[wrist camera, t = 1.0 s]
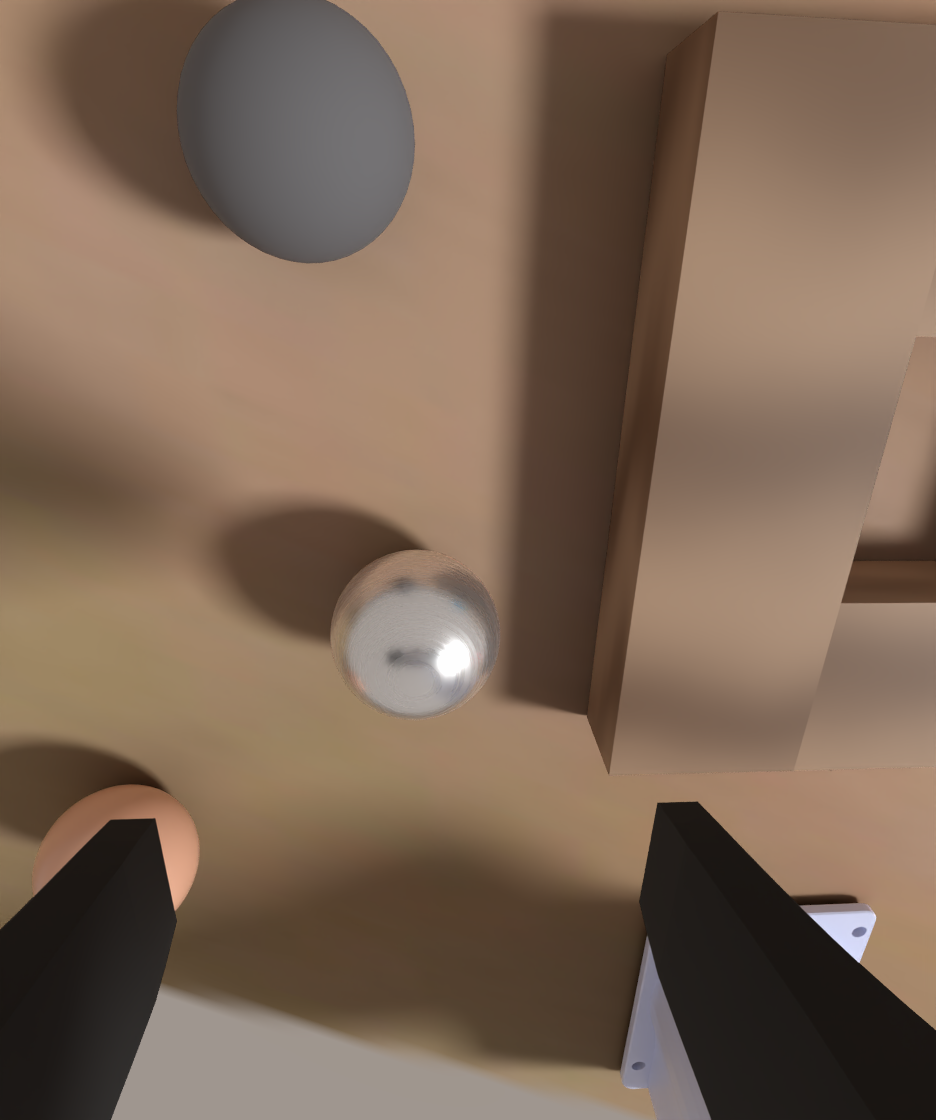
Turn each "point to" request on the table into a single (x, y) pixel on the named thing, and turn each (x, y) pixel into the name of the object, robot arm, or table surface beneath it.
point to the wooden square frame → (773, 410)
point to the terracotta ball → (123, 804)
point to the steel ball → (415, 634)
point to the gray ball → (295, 128)
